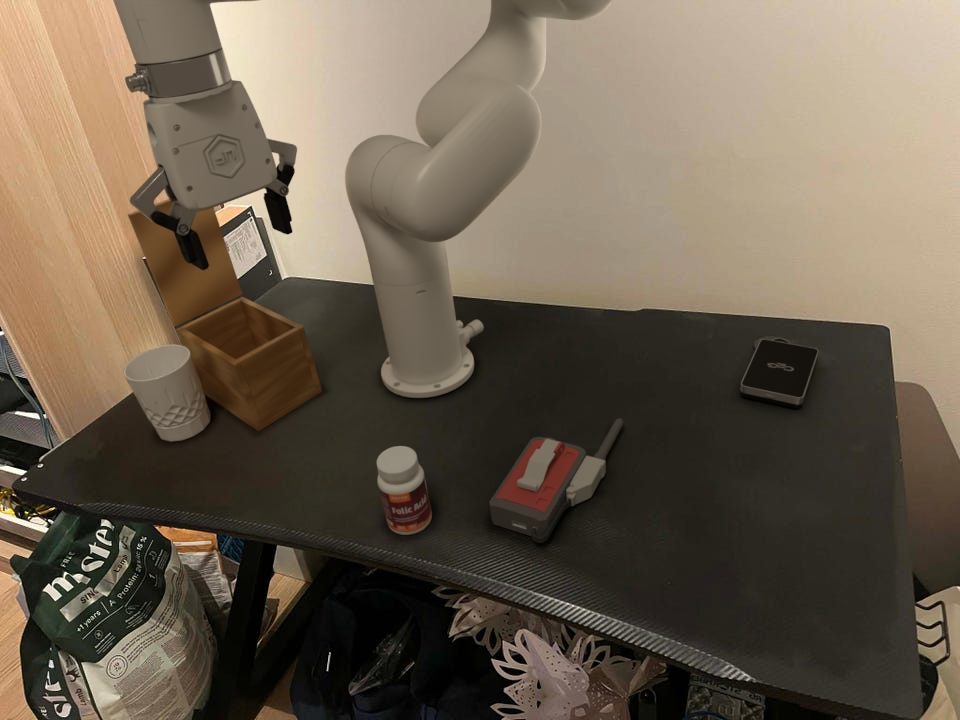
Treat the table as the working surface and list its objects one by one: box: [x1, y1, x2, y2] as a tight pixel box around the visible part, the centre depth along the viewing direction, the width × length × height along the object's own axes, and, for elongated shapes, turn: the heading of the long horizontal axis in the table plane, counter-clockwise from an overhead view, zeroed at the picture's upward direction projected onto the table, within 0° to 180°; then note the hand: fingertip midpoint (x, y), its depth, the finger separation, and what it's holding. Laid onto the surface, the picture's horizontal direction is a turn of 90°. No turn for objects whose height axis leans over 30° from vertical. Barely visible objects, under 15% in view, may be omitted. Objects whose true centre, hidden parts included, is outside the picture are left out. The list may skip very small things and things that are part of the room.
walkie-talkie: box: [488, 418, 625, 544], centre depth 75 cm, size 9×4×20 cm
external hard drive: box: [739, 338, 820, 409], centre depth 86 cm, size 7×11×2 cm, turn 150°
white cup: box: [123, 343, 212, 443], centre depth 90 cm, size 8×8×10 cm
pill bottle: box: [376, 445, 433, 536], centre depth 72 cm, size 5×5×8 cm
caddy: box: [175, 296, 323, 432], centre depth 94 cm, size 15×10×10 cm
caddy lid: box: [127, 198, 243, 327], centre depth 92 cm, size 15×10×6 cm
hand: (243, 247), depth 74 cm, fingers open, 9 cm apart
